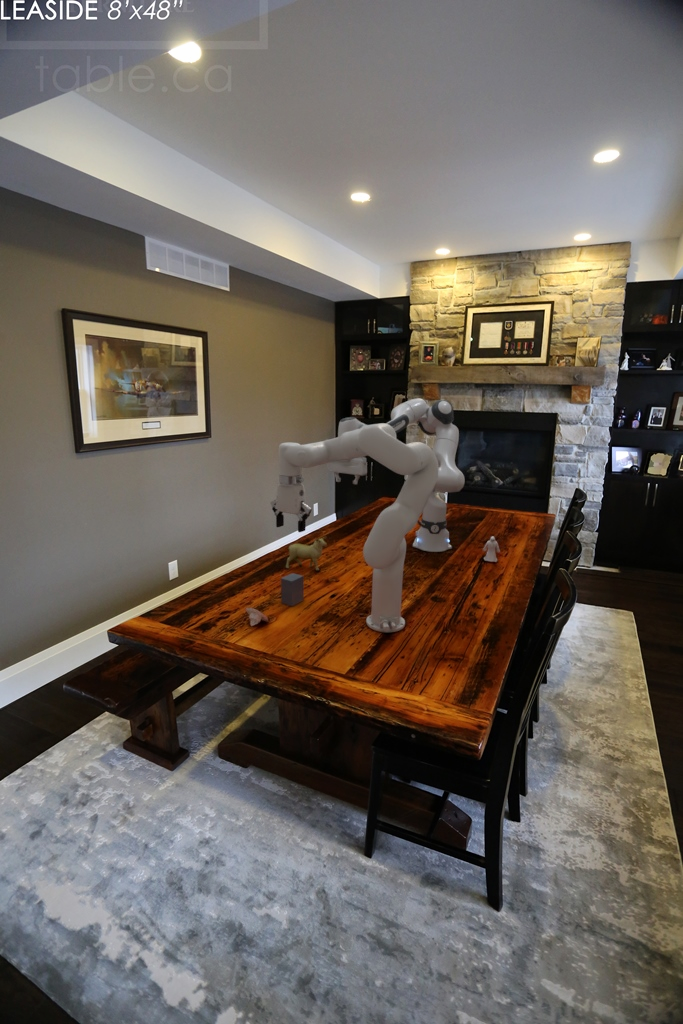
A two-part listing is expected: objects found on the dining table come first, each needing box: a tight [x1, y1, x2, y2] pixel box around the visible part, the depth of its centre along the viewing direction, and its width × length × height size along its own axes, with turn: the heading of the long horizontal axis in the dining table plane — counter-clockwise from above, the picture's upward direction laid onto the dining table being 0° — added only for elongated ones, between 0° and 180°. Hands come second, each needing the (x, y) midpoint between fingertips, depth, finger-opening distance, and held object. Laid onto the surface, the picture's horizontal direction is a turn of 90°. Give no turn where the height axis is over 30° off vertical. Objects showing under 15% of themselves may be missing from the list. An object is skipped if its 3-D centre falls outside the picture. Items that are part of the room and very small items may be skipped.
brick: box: [280, 572, 304, 607], centre depth 177 cm, size 5×6×9 cm
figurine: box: [482, 535, 501, 563], centre depth 223 cm, size 8×8×12 cm
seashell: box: [245, 607, 269, 627], centre depth 160 cm, size 8×5×8 cm
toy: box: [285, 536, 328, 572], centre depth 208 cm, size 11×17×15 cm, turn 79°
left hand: (290, 528), depth 172 cm, fingers open, 9 cm apart
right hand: (346, 482), depth 233 cm, fingers open, 8 cm apart
